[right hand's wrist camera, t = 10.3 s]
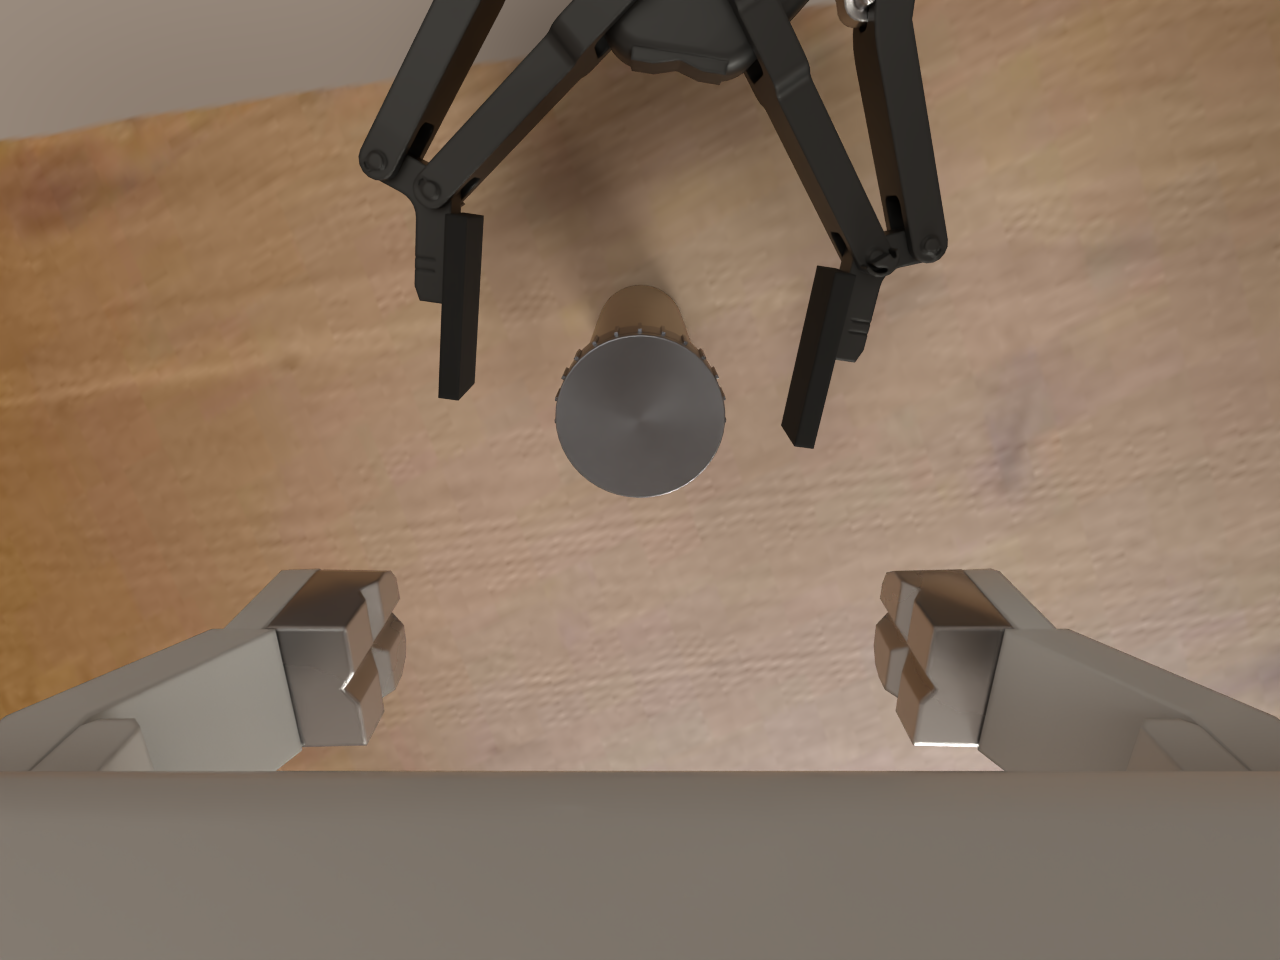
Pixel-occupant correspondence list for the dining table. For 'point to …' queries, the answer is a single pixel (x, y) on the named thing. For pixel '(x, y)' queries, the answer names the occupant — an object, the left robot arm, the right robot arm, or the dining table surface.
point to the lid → (640, 411)
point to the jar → (640, 311)
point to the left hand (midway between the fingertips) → (628, 414)
